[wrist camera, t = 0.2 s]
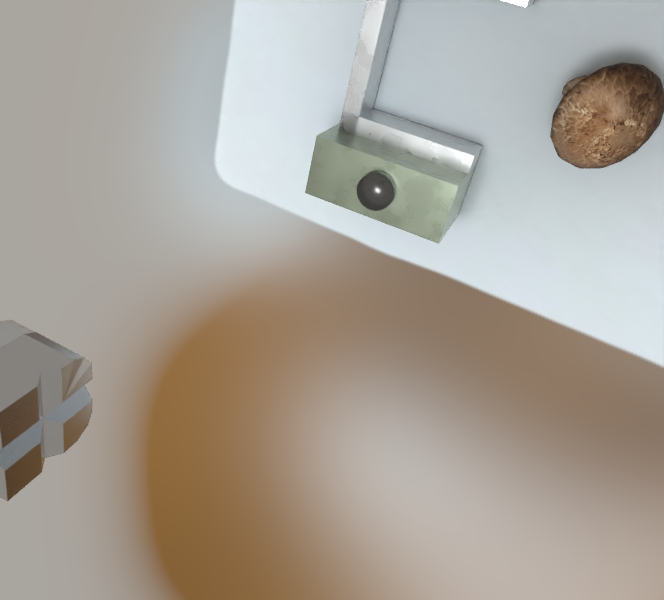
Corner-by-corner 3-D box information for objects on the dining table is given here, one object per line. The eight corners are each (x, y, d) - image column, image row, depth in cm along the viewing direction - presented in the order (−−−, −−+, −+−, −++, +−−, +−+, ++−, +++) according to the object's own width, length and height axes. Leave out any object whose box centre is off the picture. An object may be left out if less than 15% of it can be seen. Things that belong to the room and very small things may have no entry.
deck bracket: (388, -59, 49) (352, -62, 42) (540, -18, 46) (525, -15, 40) (336, 170, 59) (301, 195, 53) (458, 215, 56) (436, 247, 50)
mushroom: (525, 71, 46) (561, 115, 42) (633, 20, 45) (682, 60, 40) (541, 153, 52) (574, 199, 47) (637, 111, 50) (680, 154, 46)
